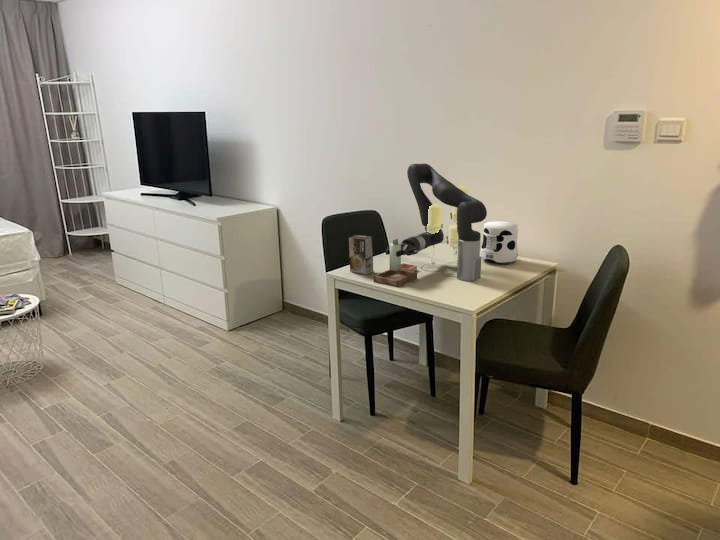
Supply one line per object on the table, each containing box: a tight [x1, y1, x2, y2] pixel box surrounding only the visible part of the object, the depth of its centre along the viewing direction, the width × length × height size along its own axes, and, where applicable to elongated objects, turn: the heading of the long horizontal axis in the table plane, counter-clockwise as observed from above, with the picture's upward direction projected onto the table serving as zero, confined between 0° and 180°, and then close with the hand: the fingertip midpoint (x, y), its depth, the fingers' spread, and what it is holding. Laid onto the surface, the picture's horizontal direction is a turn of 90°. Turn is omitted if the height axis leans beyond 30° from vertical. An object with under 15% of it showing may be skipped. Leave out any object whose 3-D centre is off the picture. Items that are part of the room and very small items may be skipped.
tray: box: [373, 269, 418, 288], centre depth 232 cm, size 13×15×2 cm
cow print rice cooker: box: [480, 220, 519, 265], centre depth 255 cm, size 17×17×18 cm
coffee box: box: [348, 234, 374, 275], centre depth 244 cm, size 9×6×16 cm
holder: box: [400, 262, 418, 272], centre depth 245 cm, size 7×7×2 cm
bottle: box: [389, 238, 402, 271], centre depth 229 cm, size 5×5×13 cm
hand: (391, 253), depth 227 cm, fingers closed on bottle, 4 cm apart
